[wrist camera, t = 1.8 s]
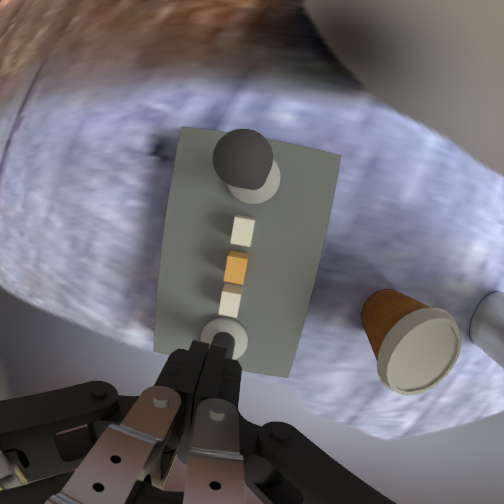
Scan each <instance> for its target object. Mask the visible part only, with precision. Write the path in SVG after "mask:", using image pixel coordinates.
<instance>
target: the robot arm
mask: <svg viewBox="0 0 504 504" xmlns="http://www.w3.org/2000/svg"><path fill="white" fill-rule="evenodd" d="M470 337H471V340H472V342H473V343H475V344H476V345H477V346H478V347H479V348H480V349H482V350H483V351H484V352H485V353H486V354H487V355H488V356H490V357H491V358H492V359H493V360H494V361H495V362H497V363H498V364H499V365H500V366H501V367H502V368H503V369H504V294H503V293H501V292H493V293H491V294H489V295H488V296H487V297H485V298H484V299H483V300H482V302H481V303H480V304H479V306H478V307H477V309H476V311H475V313H474V315H473V318H472V321H471V326H470ZM209 347H210V348H209ZM226 353H227V347H226V346H220V345H215V344H211V345H210V343H205V342H201V341H196V340H193V341H192V343H191V345H190V348H189V350H185V349H180V348H178V349H177V350H175V351H174V352H172V353H171V354H170V356H169V358H168V360H167V362H166V364H165V365H164V367H163V369H162V371H161V373H160V375H159V377H158V379H157V381H156V383H155V385H154V386H153V387H149V388H147V389H145V390H144V391H143V392H142V394H141V395H140V396H121V395H118V392H117V390H116V388H115V387H114V386H112V385H111V384H109V383H107V382H103V381H90V382H86V383H83V384H78V385H74V386H70V387H66V388H62V389H57V390H53V391H48V392H44V393H39V394H34V395H29V396H24V397H19V398H14V399H8V400H3V401H0V504H245V486H244V481H245V483H246V485H247V486H248V487H249V488H250V489H251V490H252V492H253V493H254V494H255V495H256V496H257V497H258V498H259V499H260V500H261V501H262V502H263V503H264V504H396V503H395V502H393V501H391V500H390V499H388V498H387V497H385V496H384V495H382V494H381V493H379V492H378V491H376V490H375V489H374V488H372V487H371V486H369V485H368V484H366V483H365V482H364V481H362V480H361V479H359V478H358V477H357V476H355V475H354V474H353V473H351V472H350V471H348V470H347V469H346V468H344V467H343V466H342V465H340V464H339V463H338V462H337V461H335V460H334V459H333V458H331V457H330V456H329V455H328V454H326V453H325V452H324V451H323V450H321V449H320V448H319V447H318V446H316V445H315V444H314V443H313V442H311V441H310V440H309V439H308V438H306V437H305V436H304V435H303V434H302V433H301V432H299V431H298V430H297V429H296V428H294V427H293V426H292V425H290V424H287V423H284V422H269V423H266V424H264V425H263V426H262V427H261V426H258V425H256V424H253V423H251V422H249V421H247V420H246V419H244V418H243V417H242V416H241V414H240V413H239V410H238V402H239V392H240V382H241V373H242V367H241V365H240V363H239V362H238V360H234V359H228V358H226ZM84 424H86V427H84V428H80V429H77V430H73V431H70V432H66V433H63V434H59V435H56V434H57V433H58V432H60V431H64V430H67V429H71V428H75V427H78V426H81V425H84ZM191 427H192V428H191ZM190 431H191V438H192V445H191V449H190V455H189V462H188V469H187V477H186V485H185V492H171V491H163V490H162V489H163V486H164V483H165V480H166V478H167V476H168V473H169V471H170V469H171V466H172V464H173V462H174V459H175V457H176V454H177V452H178V446H179V444H180V442H181V438H182V436H185V437H189V435H190ZM76 468H77V470H75V471H70V470H73V469H76ZM67 471H69V472H67ZM63 472H65V473H63ZM60 473H62V474H60ZM56 474H59V475H56ZM53 475H56V476H53ZM49 476H53V477H50V478H46V479H43V480H40V481H36V482H33V483H29V481H33V480H37V479H41V478H45V477H49Z"/></svg>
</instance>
